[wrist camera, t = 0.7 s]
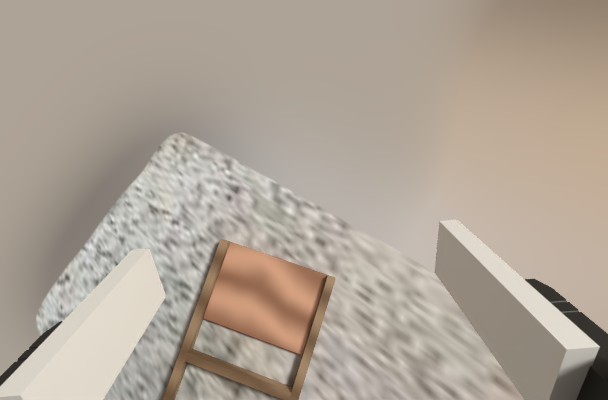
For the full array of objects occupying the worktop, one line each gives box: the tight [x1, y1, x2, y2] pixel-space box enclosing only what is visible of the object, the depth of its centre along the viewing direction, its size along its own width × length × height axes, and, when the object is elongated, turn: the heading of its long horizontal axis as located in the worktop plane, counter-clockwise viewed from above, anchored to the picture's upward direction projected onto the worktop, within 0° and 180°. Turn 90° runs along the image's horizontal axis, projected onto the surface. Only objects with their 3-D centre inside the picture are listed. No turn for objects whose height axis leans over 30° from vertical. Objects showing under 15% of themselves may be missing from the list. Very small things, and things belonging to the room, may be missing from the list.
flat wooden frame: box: [163, 240, 335, 400], centre depth 42 cm, size 35×18×2 cm, turn 162°
